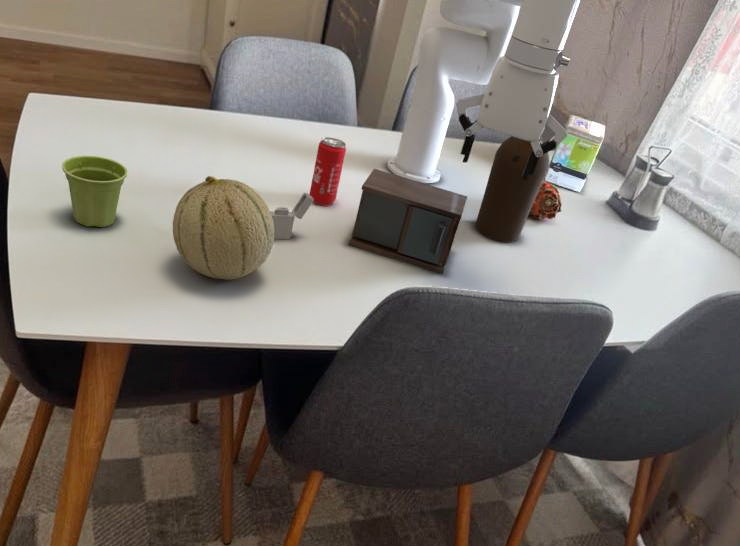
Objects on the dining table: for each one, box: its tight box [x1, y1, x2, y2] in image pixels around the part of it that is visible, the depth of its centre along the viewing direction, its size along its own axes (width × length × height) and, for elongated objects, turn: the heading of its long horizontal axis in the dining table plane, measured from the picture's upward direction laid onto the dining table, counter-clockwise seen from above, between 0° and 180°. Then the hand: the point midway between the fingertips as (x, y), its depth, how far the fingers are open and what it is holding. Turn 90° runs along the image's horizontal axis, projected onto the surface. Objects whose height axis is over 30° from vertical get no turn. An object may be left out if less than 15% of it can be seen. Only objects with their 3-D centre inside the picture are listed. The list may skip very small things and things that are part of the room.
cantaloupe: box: [172, 175, 275, 281], centre depth 104 cm, size 15×15×15 cm
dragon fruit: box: [528, 179, 563, 221], centre depth 158 cm, size 8×8×12 cm
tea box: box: [544, 114, 606, 193], centre depth 183 cm, size 15×10×15 cm
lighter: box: [269, 192, 314, 240], centre depth 121 cm, size 7×2×8 cm, turn 115°
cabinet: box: [348, 168, 468, 275], centre depth 127 cm, size 10×18×11 cm, turn 77°
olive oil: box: [474, 136, 550, 243], centre depth 140 cm, size 11×11×25 cm
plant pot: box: [61, 155, 129, 228], centre depth 111 cm, size 9×9×9 cm
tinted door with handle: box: [397, 205, 456, 266], centre depth 121 cm, size 4×8×9 cm, turn 77°
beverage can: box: [309, 136, 347, 207], centre depth 136 cm, size 5×5×12 cm
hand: (494, 168), depth 111 cm, fingers open, 9 cm apart
